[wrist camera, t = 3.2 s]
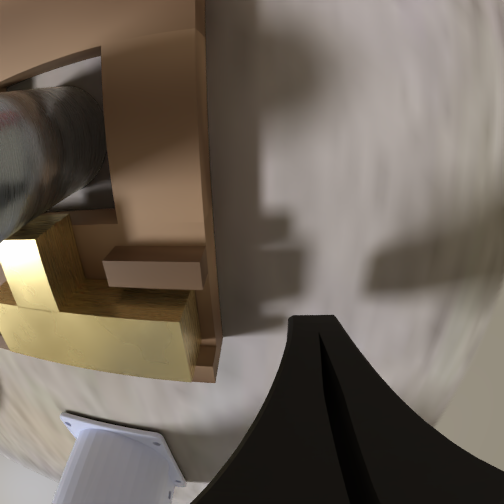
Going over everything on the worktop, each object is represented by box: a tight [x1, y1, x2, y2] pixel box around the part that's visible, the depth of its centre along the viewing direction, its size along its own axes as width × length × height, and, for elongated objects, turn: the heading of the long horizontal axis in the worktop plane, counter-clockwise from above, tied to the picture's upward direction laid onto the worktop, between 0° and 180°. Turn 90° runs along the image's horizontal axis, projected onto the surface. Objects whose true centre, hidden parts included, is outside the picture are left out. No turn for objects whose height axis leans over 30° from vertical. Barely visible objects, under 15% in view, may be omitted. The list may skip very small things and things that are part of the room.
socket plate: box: [0, 0, 223, 383], centre depth 9 cm, size 15×13×2 cm
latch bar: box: [0, 213, 202, 382], centre depth 9 cm, size 5×8×2 cm, turn 91°
